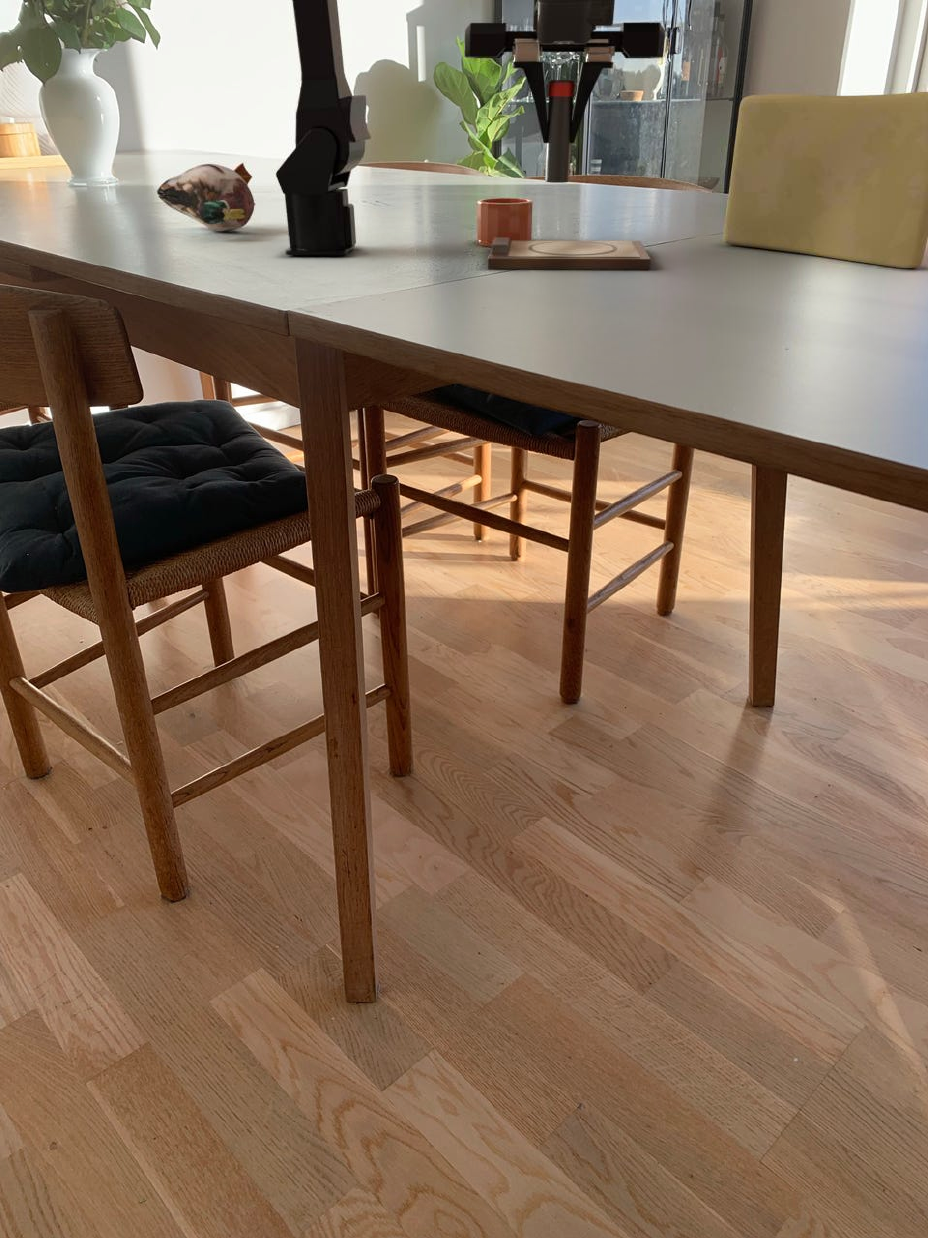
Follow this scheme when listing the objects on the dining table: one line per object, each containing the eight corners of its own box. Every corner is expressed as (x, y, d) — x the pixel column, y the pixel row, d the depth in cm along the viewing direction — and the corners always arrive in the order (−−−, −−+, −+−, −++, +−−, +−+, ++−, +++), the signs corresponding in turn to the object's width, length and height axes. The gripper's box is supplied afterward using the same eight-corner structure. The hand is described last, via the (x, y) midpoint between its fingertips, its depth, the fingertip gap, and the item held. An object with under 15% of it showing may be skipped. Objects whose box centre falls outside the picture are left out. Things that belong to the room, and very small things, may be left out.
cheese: (948, 264, 91) (991, 90, 83) (884, 274, 87) (923, 92, 79) (778, 237, 107) (801, 90, 100) (717, 244, 103) (737, 91, 96)
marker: (544, 182, 93) (549, 79, 88) (544, 180, 95) (549, 79, 90) (569, 182, 93) (575, 79, 88) (569, 180, 95) (574, 79, 90)
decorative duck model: (232, 183, 104) (109, 176, 106) (240, 252, 108) (122, 245, 110) (275, 159, 116) (164, 154, 118) (281, 222, 120) (174, 216, 122)
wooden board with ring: (487, 268, 91) (488, 249, 90) (493, 249, 101) (493, 232, 100) (650, 269, 90) (651, 250, 89) (639, 250, 100) (640, 232, 99)
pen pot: (476, 247, 103) (476, 203, 101) (479, 239, 108) (479, 197, 106) (531, 247, 103) (532, 203, 100) (531, 239, 108) (532, 197, 106)
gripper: (459, -59, 78) (459, 147, 86) (680, -61, 76) (659, 148, 84) (469, -44, 87) (469, 140, 95) (667, -45, 86) (649, 142, 94)
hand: (558, 142), depth 92 cm, fingers closed on marker, 2 cm apart
